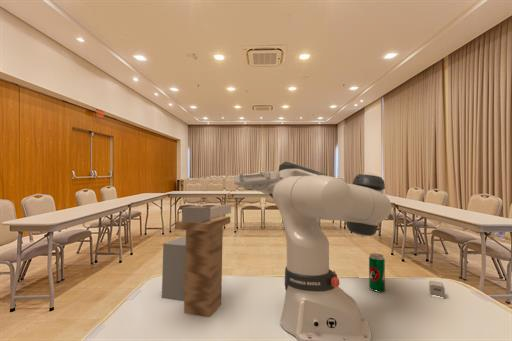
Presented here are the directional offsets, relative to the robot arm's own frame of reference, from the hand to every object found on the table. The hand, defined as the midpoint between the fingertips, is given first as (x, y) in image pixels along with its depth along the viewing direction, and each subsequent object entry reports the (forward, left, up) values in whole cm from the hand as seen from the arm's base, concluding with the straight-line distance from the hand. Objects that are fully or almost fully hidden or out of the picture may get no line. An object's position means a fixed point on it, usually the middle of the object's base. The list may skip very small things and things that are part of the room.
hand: (250, 174), depth 107 cm
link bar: (+5, +25, -14) cm, 29 cm away
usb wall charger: (-66, -2, -41) cm, 77 cm away
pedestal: (+17, +19, -40) cm, 48 cm away
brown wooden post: (+5, +30, -40) cm, 50 cm away
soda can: (-47, 0, -41) cm, 62 cm away
